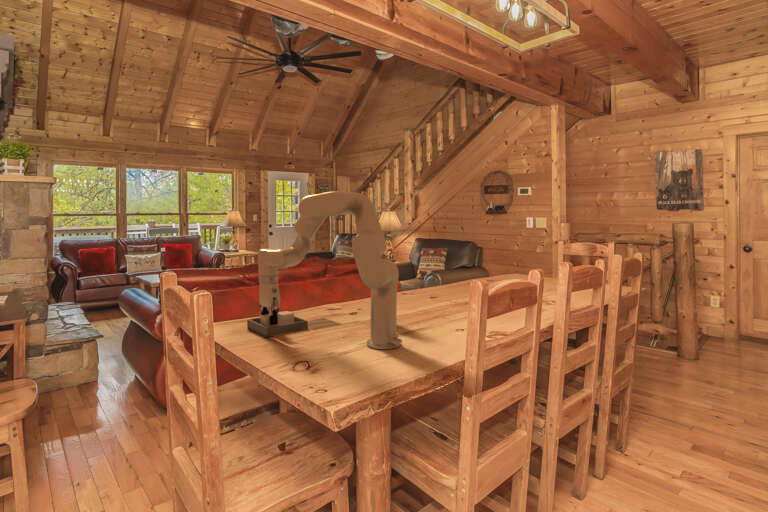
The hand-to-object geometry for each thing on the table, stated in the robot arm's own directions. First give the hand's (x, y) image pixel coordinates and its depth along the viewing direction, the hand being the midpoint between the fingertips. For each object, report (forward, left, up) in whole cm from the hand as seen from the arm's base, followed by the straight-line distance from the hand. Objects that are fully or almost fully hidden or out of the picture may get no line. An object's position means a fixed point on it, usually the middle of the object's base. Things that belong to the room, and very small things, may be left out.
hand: (269, 322), depth 183 cm
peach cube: (0, -7, -3) cm, 8 cm away
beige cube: (0, 0, -3) cm, 3 cm away
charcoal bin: (0, -3, -4) cm, 5 cm away
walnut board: (-6, -20, -4) cm, 21 cm away
